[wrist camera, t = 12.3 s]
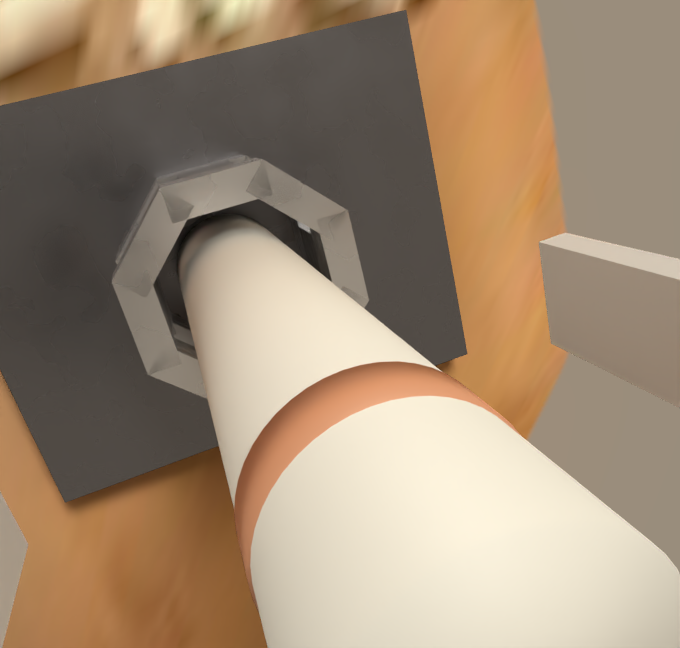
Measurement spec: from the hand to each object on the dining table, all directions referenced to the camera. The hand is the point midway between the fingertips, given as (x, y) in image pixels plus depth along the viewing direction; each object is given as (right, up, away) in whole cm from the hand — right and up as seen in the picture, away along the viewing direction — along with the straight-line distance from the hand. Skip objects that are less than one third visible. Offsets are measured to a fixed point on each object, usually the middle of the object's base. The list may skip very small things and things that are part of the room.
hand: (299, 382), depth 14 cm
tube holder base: (-4, +4, +14) cm, 15 cm away
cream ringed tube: (-4, +4, +12) cm, 14 cm away
